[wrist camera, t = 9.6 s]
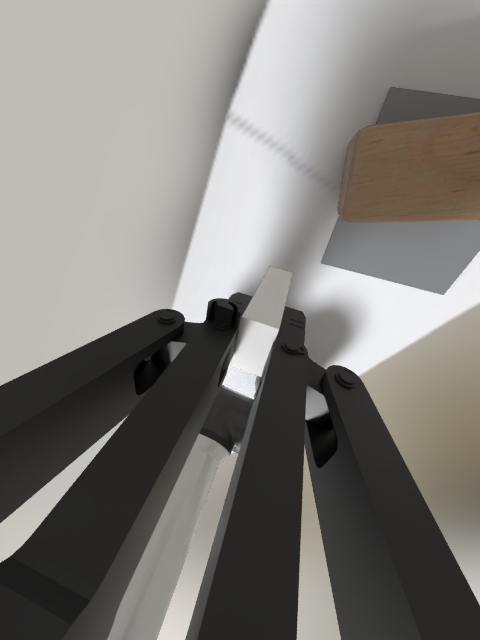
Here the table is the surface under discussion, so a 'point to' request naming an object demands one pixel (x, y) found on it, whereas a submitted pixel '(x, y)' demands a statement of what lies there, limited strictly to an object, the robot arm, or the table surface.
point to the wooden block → (413, 172)
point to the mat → (409, 237)
